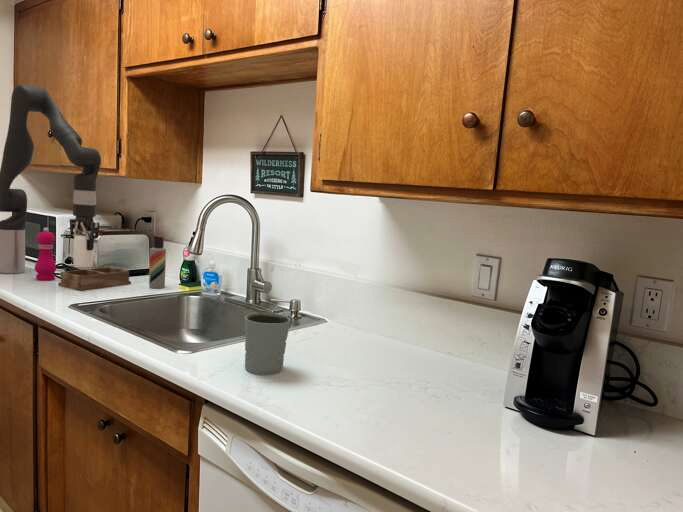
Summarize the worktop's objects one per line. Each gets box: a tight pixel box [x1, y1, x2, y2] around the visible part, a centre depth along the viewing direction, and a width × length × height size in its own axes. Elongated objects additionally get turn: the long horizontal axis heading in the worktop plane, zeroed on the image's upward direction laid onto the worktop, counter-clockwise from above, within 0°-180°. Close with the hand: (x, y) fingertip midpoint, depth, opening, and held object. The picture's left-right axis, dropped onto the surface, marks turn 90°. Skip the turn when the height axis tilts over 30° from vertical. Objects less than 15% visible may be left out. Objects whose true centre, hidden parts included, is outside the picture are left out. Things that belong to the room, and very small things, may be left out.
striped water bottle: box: [148, 235, 167, 290], centre depth 196 cm, size 6×6×20 cm
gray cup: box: [244, 312, 291, 376], centre depth 117 cm, size 10×10×12 cm
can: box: [73, 233, 95, 269], centre depth 187 cm, size 6×6×12 cm
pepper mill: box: [34, 227, 57, 282], centre depth 195 cm, size 7×7×20 cm
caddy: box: [57, 266, 132, 292], centre depth 193 cm, size 13×21×5 cm, turn 151°
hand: (83, 248), depth 187 cm, fingers closed on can, 6 cm apart
